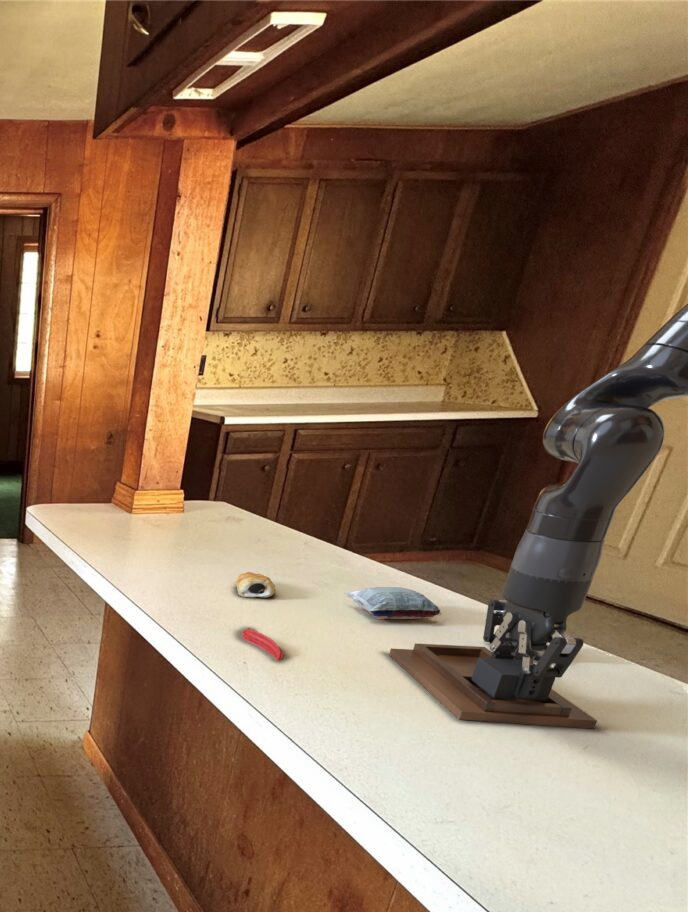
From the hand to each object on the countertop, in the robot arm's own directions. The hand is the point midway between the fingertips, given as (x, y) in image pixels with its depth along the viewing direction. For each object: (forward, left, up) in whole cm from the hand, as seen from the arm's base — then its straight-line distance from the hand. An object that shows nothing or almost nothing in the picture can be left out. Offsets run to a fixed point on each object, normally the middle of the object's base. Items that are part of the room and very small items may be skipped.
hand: (508, 687), depth 89 cm
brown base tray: (0, -5, -3) cm, 6 cm away
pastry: (+20, -41, -3) cm, 45 cm away
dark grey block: (0, 0, 0) cm, 0 cm away
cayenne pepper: (+25, -16, -3) cm, 30 cm away
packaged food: (0, -32, -3) cm, 32 cm away
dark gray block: (-13, -18, -3) cm, 22 cm away
